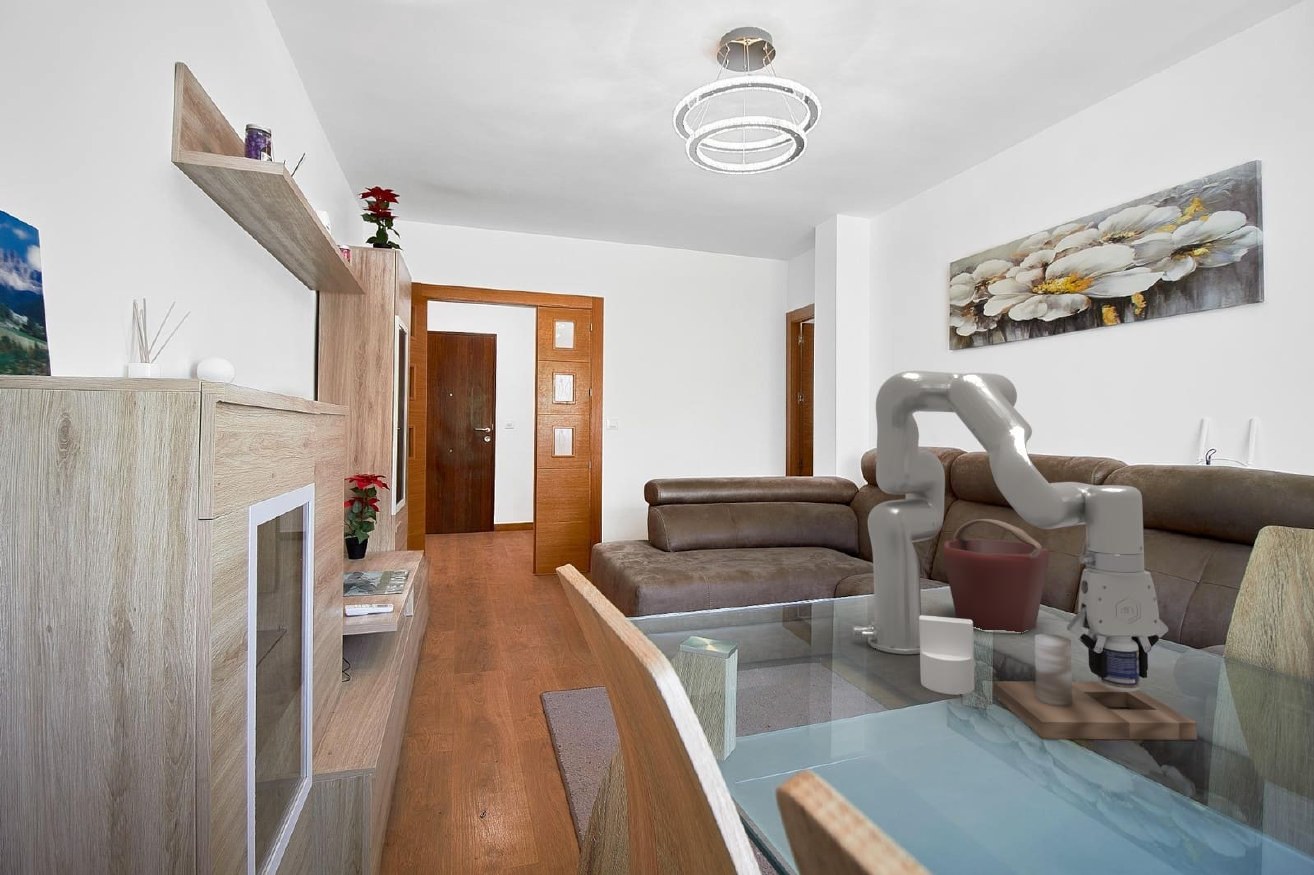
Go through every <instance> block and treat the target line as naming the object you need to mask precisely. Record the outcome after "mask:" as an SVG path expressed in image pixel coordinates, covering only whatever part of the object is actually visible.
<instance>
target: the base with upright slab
mask: <svg viewBox="0 0 1314 875" xmlns="http://www.w3.org/2000/svg"><path fill="white" fill-rule="evenodd" d="M919 633H920V653H919V665H920V667H919V668H920V669H919V670H920V673H919V674H920V684H921V685H922V686H923V687H924V688H926V689H927V690H930V691H933V692H937V693H940V694H945V695H953V696H954V695H957V696H958V695H959V694H962V695H967V694H972V693H973V692H974V691H975V655H974V654H975V653H974V652H975V651H974V629H973V621H972V620H970V619H959V618H957V617H947V616H934V615H925V614H924V615H923V614H921V616H920V617H919ZM973 690H974V691H973ZM972 691H973V692H972ZM959 696H960V695H959Z"/></svg>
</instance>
